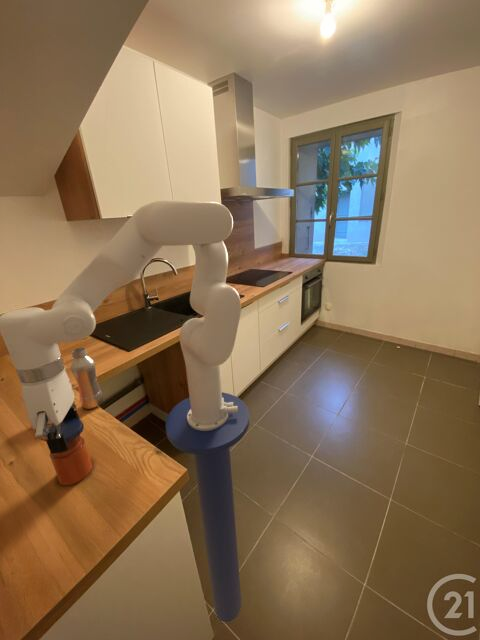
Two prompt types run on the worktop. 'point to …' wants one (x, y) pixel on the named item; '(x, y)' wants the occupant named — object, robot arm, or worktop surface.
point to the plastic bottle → (86, 379)
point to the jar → (72, 462)
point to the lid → (70, 428)
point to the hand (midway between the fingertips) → (67, 437)
